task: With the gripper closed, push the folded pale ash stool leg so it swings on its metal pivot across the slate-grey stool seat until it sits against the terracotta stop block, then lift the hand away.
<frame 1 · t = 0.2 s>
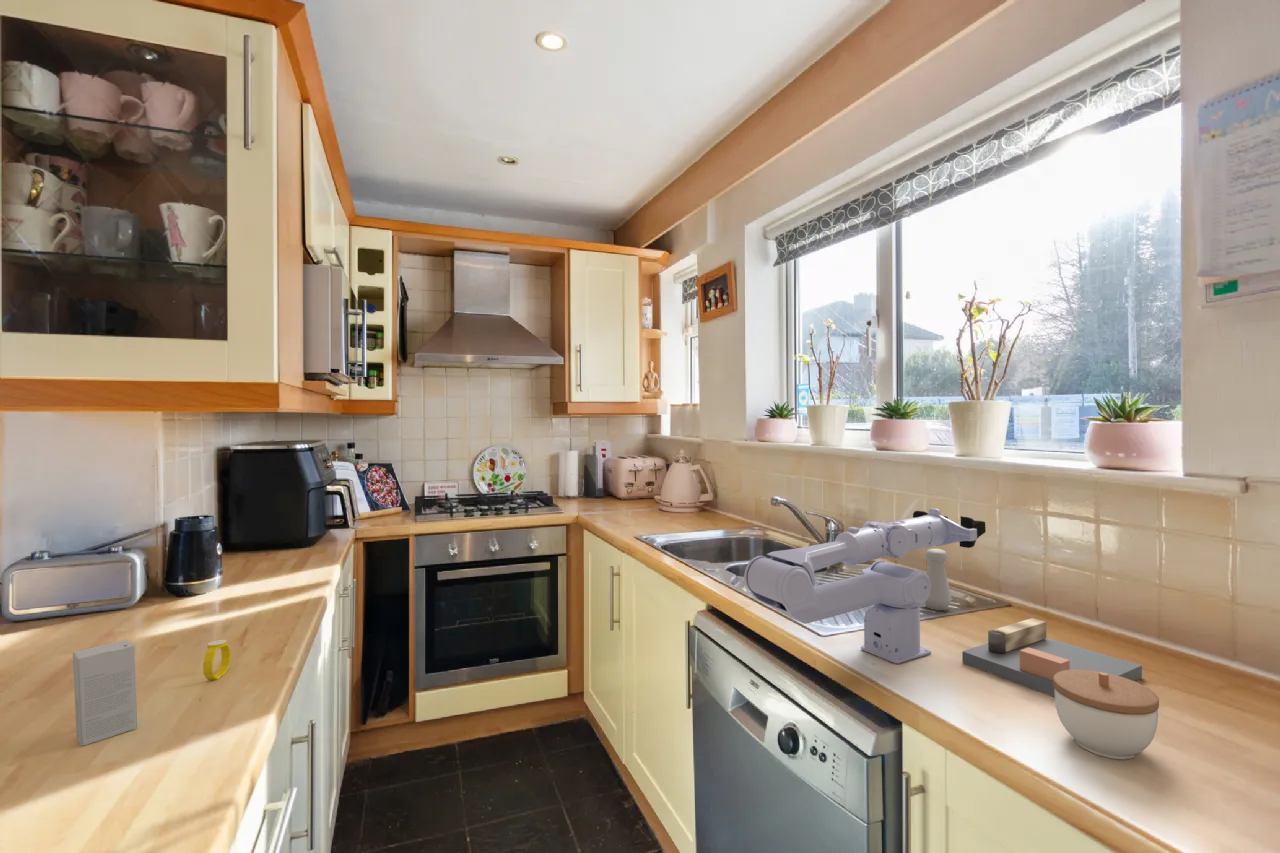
hand: (964, 524, 117), 21 cm above the worktop, tool horizontal, fingers open, 7 cm apart
stool seat: (1049, 670, 99), on the worktop
watch: (217, 677, 102), on the worktop
lidded jar: (1104, 747, 77), on the worktop
skincare box: (106, 734, 83), on the worktop
stool leg: (1016, 635, 105), point 4 cm above the worktop, hinge at 90.0°
salt shaker: (936, 608, 132), on the worktop
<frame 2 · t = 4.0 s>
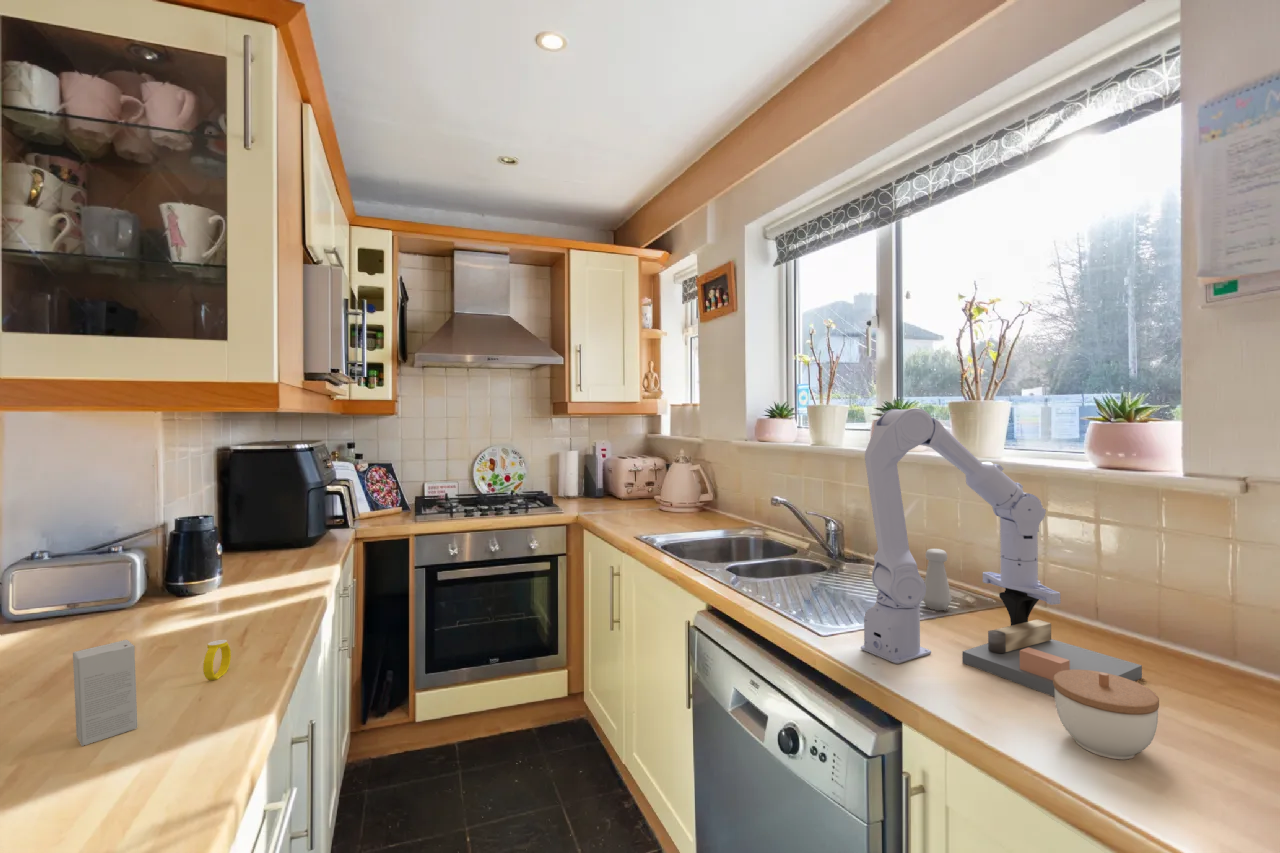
hand: (1019, 632, 108), 3 cm above the worktop, tool pointing down, fingers closed, pressing on stool leg
stool leg: (1018, 636, 105), point 4 cm above the worktop, hinge at 86.0°, touching gripper
everything else where it was.
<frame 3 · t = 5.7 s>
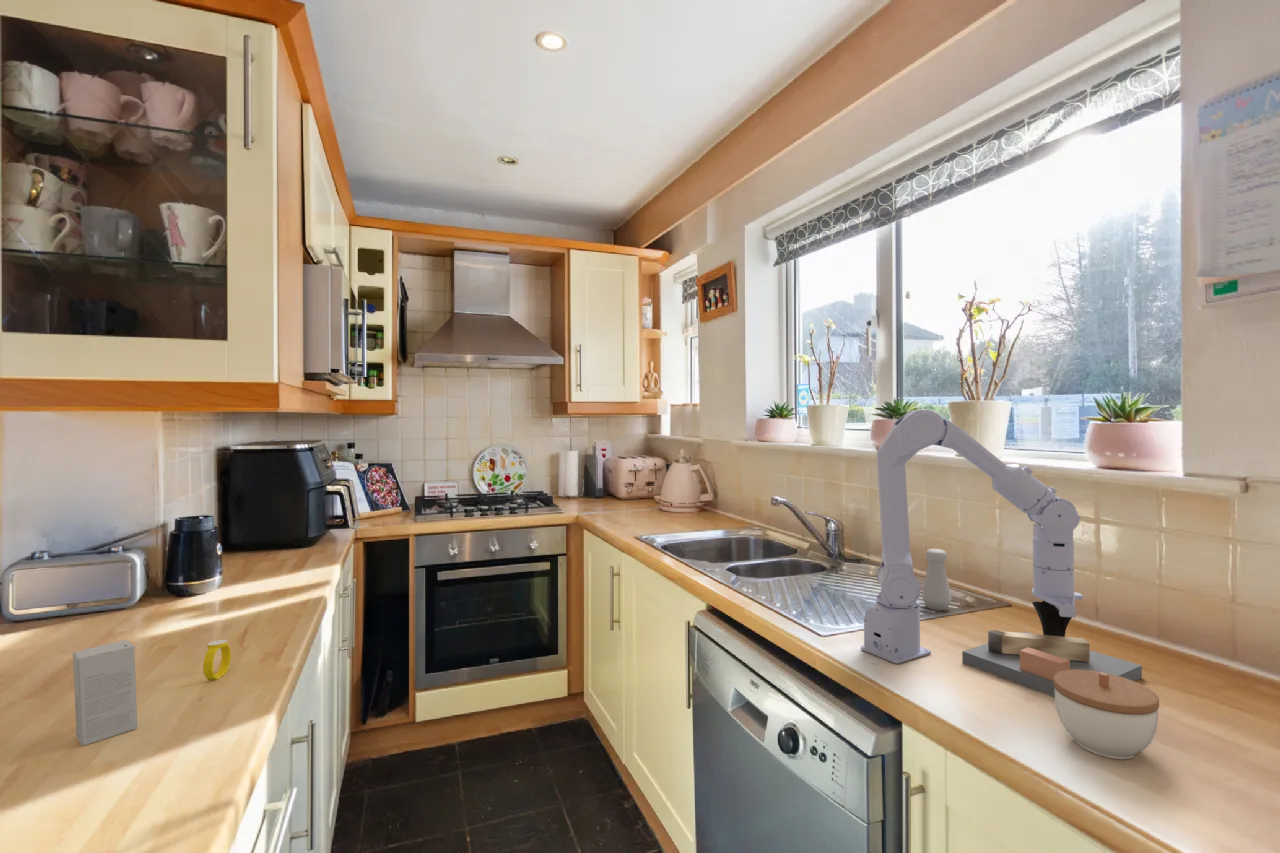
hand: (1054, 646, 101), 3 cm above the worktop, tool pointing down, fingers closed, pressing on stool leg
stool leg: (1036, 645, 101), point 4 cm above the worktop, hinge at 42.6°, touching gripper
everything else where it was.
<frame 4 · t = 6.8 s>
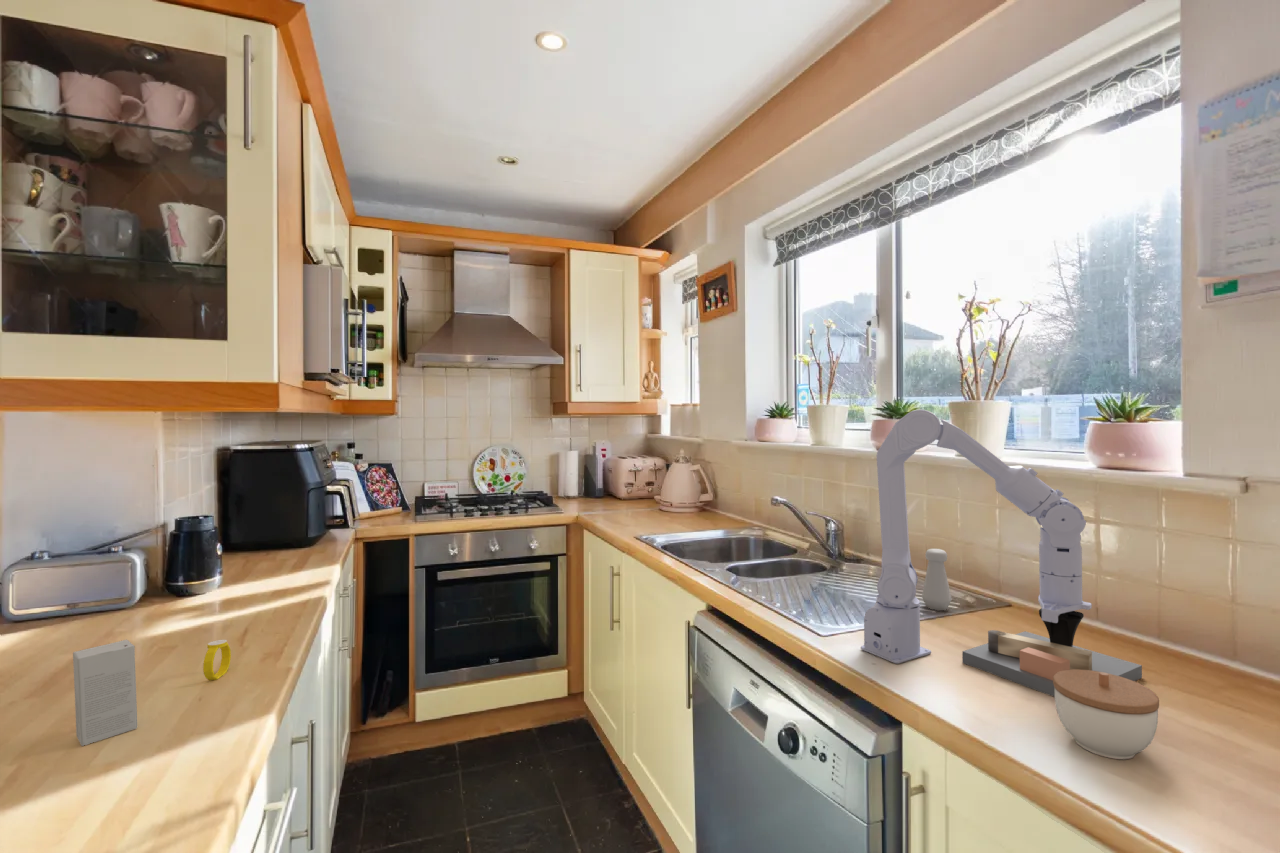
hand: (1061, 655, 97), 3 cm above the worktop, tool pointing down, fingers closed, pressing on stool leg
stool leg: (1036, 650, 98), point 4 cm above the worktop, hinge at 15.6°, touching gripper
everything else where it was.
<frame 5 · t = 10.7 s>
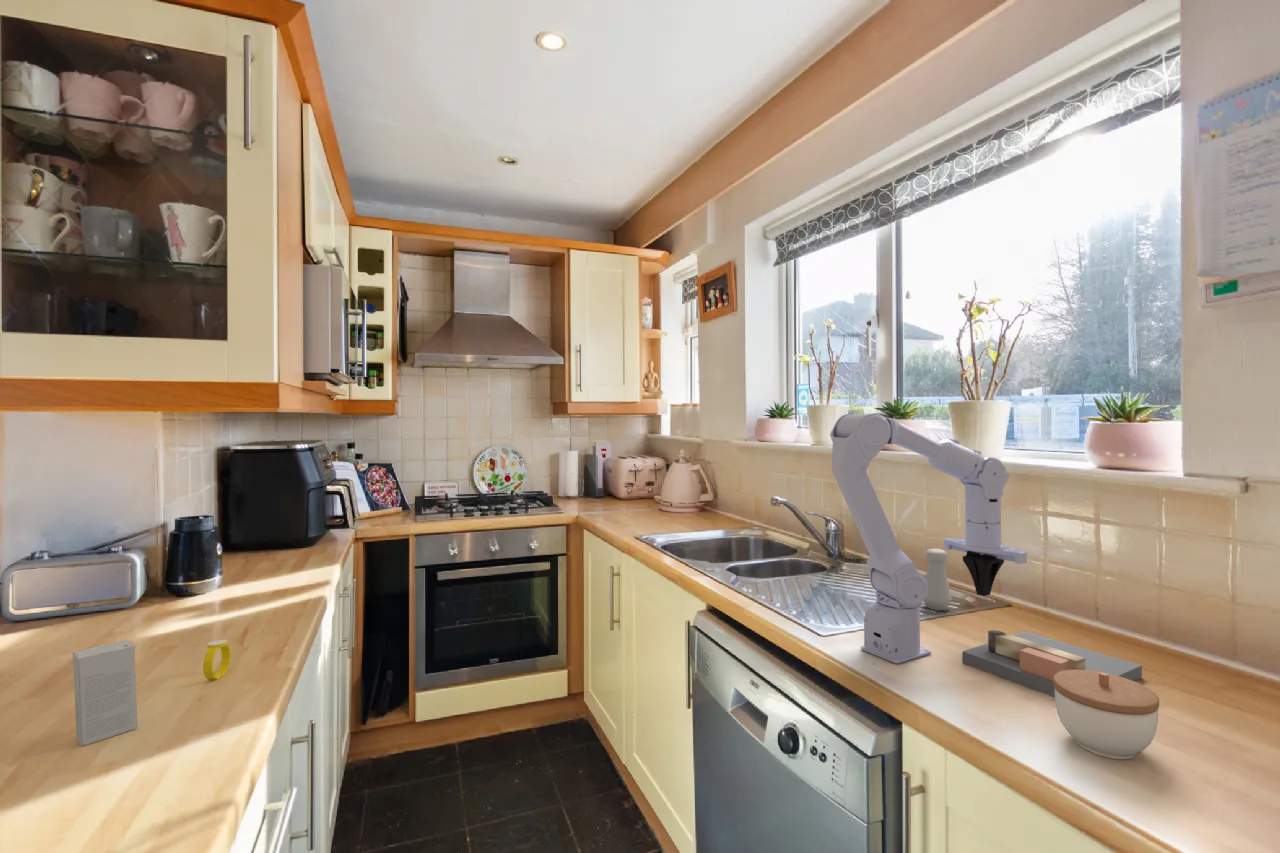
hand: (983, 594, 111), 9 cm above the worktop, tool pointing down, fingers closed
stool leg: (1032, 653, 97), point 4 cm above the worktop, hinge at -1.4°
everything else where it was.
at the end: stool leg at -1° (first picture: +90°) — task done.
